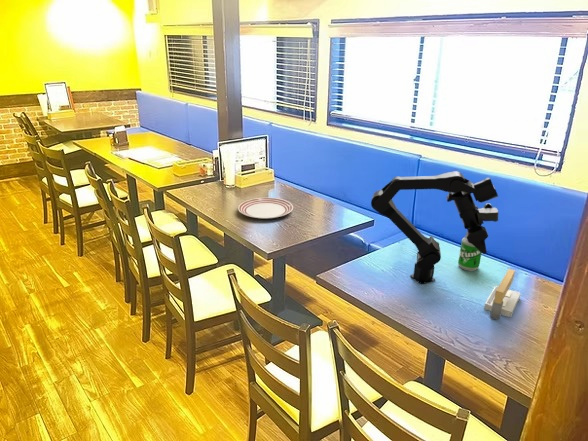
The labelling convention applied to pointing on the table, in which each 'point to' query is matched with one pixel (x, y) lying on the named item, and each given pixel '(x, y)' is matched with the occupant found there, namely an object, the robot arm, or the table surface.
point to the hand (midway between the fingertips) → (483, 247)
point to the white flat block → (504, 302)
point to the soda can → (469, 256)
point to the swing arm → (501, 294)
